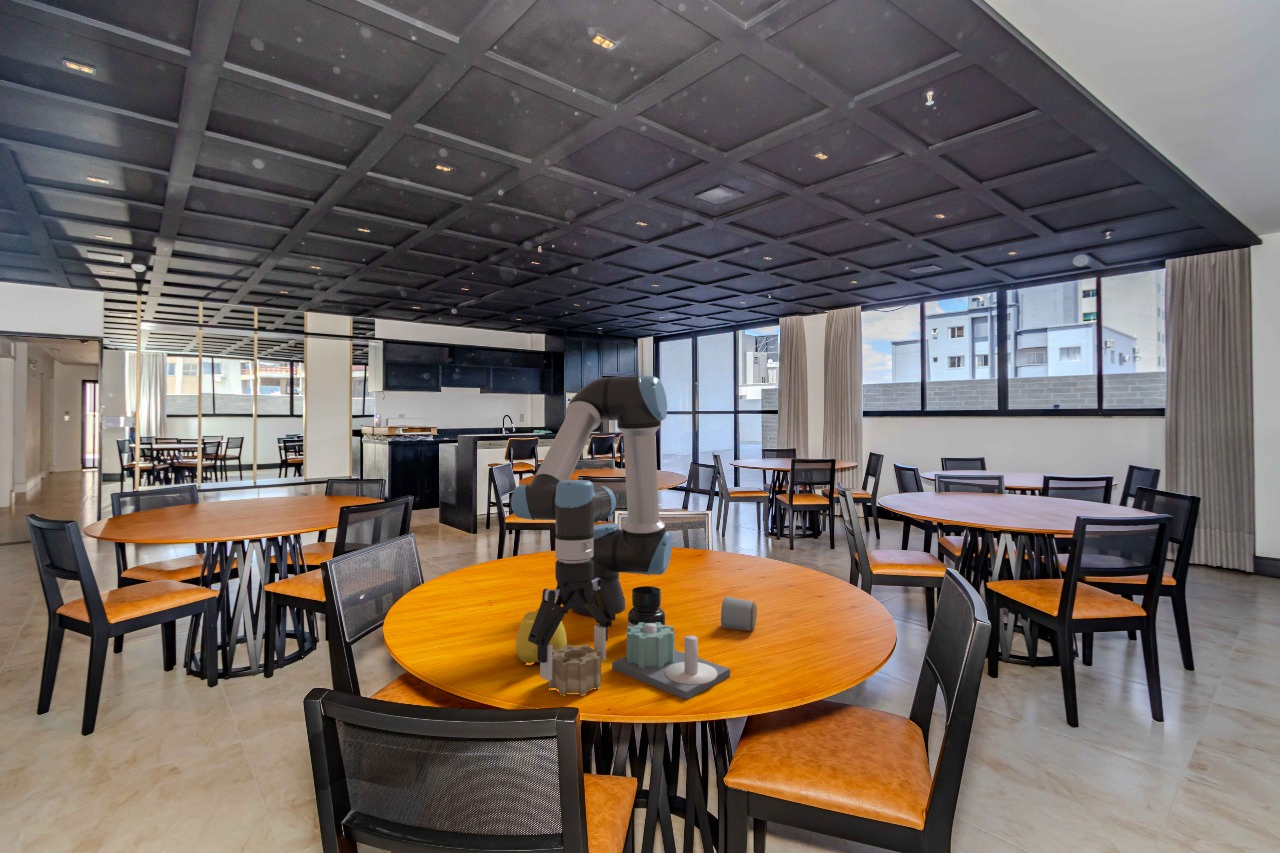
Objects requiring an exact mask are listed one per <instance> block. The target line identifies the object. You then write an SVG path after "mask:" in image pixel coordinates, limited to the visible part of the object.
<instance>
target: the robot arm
mask: <svg viewBox="0 0 1280 853" xmlns="http://www.w3.org/2000/svg"><path fill="white" fill-rule="evenodd" d="M667 402H668V401H667V394H666V391H665V388H664V385H663V383H662V382H661V380H660V379H659V378H658V377H656V376H653V375H651V376H650V375H631V376H614V377H613V376H607V377H606V376H605V377H601V378H597V379H595V380H592V381H591V382H589V383H588V384H586V385H585V386H584V387H582V388H581V389H580V390H578V392H577V393H576V394H575V395H574V396H573V397H572V398H571V399H570V401H569V403H568V405H567V406H566V409H565V418H564V421H563V423H562V424H561V426H560V427H559V430H558V432H557V434H556V436H555V438H554V439H553V442H552V443H551V445H550V447H549V448H548V451H547V452H546V454H545V455H544V459H543V460H542V462H541V464H540V465H539V468H538V469H537V472H536V473H535V475H534V476H533V478H532V480H531V482H530V483H529V484H527V483H525V484H520V485H518V486H516V487H515V488H514V490H513V492H512V495H511V498H510V499H511V500H510V504H511V509H512V512H513V514H514V516H515V517H517V518H519V519H522V520H523V519H524V520H531V521H555V543H554V544H555V545H554V547H555V549H554V550H555V551H554V553H555V554H554V556H555V557H554V558H556V559H557V560H556V561H555V562H554V563H555V564H554V565H555V566H554V568H555V570H554V573H555V577H554V578H555V579H556V580H555V581H556V583H557V584H556V587H555V589H549V588H544V589H543V590H542V595H541V602H540V605H539V608H538V609H539V610H538V613H537V616H536V618H535V621H534V624H533V626H532V629H531V632H530V634H529V637H528V641H529V642H531V643H534V644H536V645H537V653H538V654H537V655H538V656H537V659H538V661H539V662H538V663H540V664H539V665H540V666H539V670H540V672H539V674H540V675H539V676H540V678H542V679H544V680H546V681H551V680H552V644H549V642H550V640H551V638H552V637H553V635H554V633H555V631H556V629H557V628H558V626H559V624H560V622H561V621H562V620H563V619H564V617H565V616H566V615H567V614H568V613H569V611H570V610H572V612H574V613H576V614H578V615H581V616H588V617H592V618H593V619H594V620H595V622H597V624H595V625H594V626H593V627H594V628H593V631H594V632H593V635H594V636H593V638H594V639H593V640H594V642H593V643H594V644H593V647H594V648H593V649H600V650H601V661H606V660H607V658H606V657H607V642H608V639H609V633H608V632H609V628H611V627H612V626H613V623H612V622H615V621H616V618H617V616H616V614H618V613H621V612H622V611H624V610H625V609H626V597H625V595H624V592H623V588H622V585H621V582H620V574H621V573H622V574H623V573H624V574H635V575H647V576H652V575H653V576H655V575H656V576H660V575H663V574H665V572H666V571H667V569H668V568H669V565H670V564H669V563H670V561H671V557H672V552H673V551H672V550H673V543H674V542H673V539H674V538H673V534H672V532H671V531H666V523H665V522H664V521H662V519H660V509H659V508H660V506H659V487H658V486H659V485H658V484H659V483H658V466H657V465H658V464H657V458H658V457H657V441H656V436H657V435H656V433H657V431H658V430H659V429H660V428H661V426H662V423H661V422H662V421H663V420H665V419H666V418H667V416H668V410H667V409H668V403H667ZM605 421H616V426H617V429H618V430H619V432H621V433H622V434H623V451H624V454H623V455H624V468H625V469H624V471H625V488H626V508H627V512H626V513H627V520H626V522H625V523H624V524H623V525H622V529H620V525H619V524H618V523H613V522H612V523H602V524H601V523H600V524H595V523H599V522H602V521H605V520H606V519H607V518H609V517H611V516H612V514H614V512H615V510H616V507H617V499H616V496H615V494H614V492H613V491H612V490H611V488H609V487H607V486H604V485H595V484H594V483H593V482H592V481H590V480H588V479H587V480H586V479H585V480H584V479H570V478H571V477H572V475H573V473H574V471H575V468H576V466H577V464H578V462H579V461H580V460H579V459H580V458H581V456H582V453H583V452H584V449H585V447H586V445H587V443H588V440H589V439H590V437H591V434H592V432H593V431H594V430H596V429H597V428H598V427H599V426H600V425H601V423H603V422H605ZM594 524H595V525H594ZM562 622H563V621H562ZM544 637H545V638H544Z"/></svg>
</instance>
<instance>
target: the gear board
mask: <svg viewBox="0 0 1280 853" xmlns="http://www.w3.org/2000/svg"><path fill="white" fill-rule="evenodd" d="M675 636H676V634H675V631H674V626H673V625H666V624H665V625H662V624H661V622H655V623H644V622H640V623H638V625H636V626H633V627H632V626H628V625H627V627H626V656H624V657H621V658H618V659H616V660H613V661H611V670H613V671H615V670H616V672H618V673H621V674H622V673H623V674H622V675H624V676H625V675H626V676H627V675H628V676H627V677H630V676H631V677H630V678H632V677H633V678H632V679H635V680H637V681H640V682H642V683H644V684H647V685H650V686H652V687H655V688H657V689H659V690H662V691H664V692H666V693H668V694H671V695H674V696H676V697H678V698H681V699H683V700H685V701H687V700H689V699H691V698H692V697H695V696H696V695H698V694H700V693H702V692H704V691H705V690H708V689H709V688H711V687H713V686H715V685H716V684H719V683H720V682H723V681H724V680H726V679H728V678H729V677H731V668H729V667H725V666H723V665H720V664H717V663H714V662H712V661H708V660H705V659H703V658H699V656H698V655H699V653H698V651H699V650H698V648H699V647H698V646H699V644H698V637H697V636H695V635H687V636H684V638H683V640H684V643H683V644H684V648H683V649H684V652H682V651H679V650H676V647H675V646H676V642H675V640H676V639H675Z"/></svg>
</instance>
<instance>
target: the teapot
mask: <svg viewBox="0 0 1280 853" xmlns="http://www.w3.org/2000/svg"><path fill="white" fill-rule="evenodd" d="M538 610H539V608H537V609H535V611H534V610H533V611H529V612H528V611H527V613H525V614H524V616H523V618H522V620H521V622H520V624H519V627H518V631H517V634H516V639H515V640H516V641H515V651H516V653H517V655H518V657H519V659H520V660H521V661H522V662H524V663H525V662H527V663H532V662H534V663H540V662H539V661H538V659H537V656H538V655H537V654H538V653H537V645H536V644H534V643H531V642H529V641H528V637H529V634H530V632H531V629H532V626H533V624H534V621H535V618H536V616H537V613H538ZM544 638H545V637H544ZM549 644H552V650H553V649H554V650H559V649H562V648H565V645H568V640H567V633H566V629H565V625H564V623H563V621H561V622H560V624H559V626H558V628H557V629H556V631H555V633H554V635H553V637H552V638H551V640H550V642H549Z"/></svg>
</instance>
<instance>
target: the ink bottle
mask: <svg viewBox="0 0 1280 853" xmlns="http://www.w3.org/2000/svg"><path fill="white" fill-rule="evenodd" d="M661 594H662V592H661V588H659V587H655V586H648V585H647V586H646V585H644V586H643V585H642V586H637V587H634V588H632V591H631V595H632V596H631V601H632V608H631V609H630V610H629V611H628V614H627V627H628V626H632V627H633V626H636V625H638V623H640V622H644V623H655V622H661V624H662V625H665V626H666V614H665V611H664V610H663V609H662V608H661V603H662V598H661V596H662V595H661Z"/></svg>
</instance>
